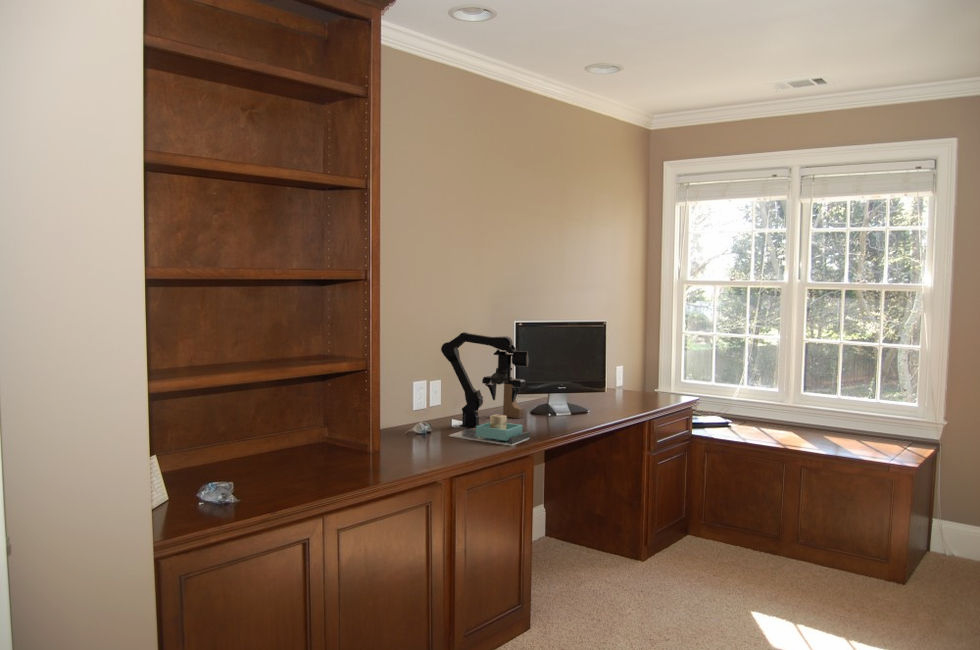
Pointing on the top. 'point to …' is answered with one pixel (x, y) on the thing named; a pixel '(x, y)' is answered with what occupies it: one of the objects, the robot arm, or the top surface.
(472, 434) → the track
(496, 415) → the part
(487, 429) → the teal storage bin
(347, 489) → the top surface
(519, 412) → the wooden block
